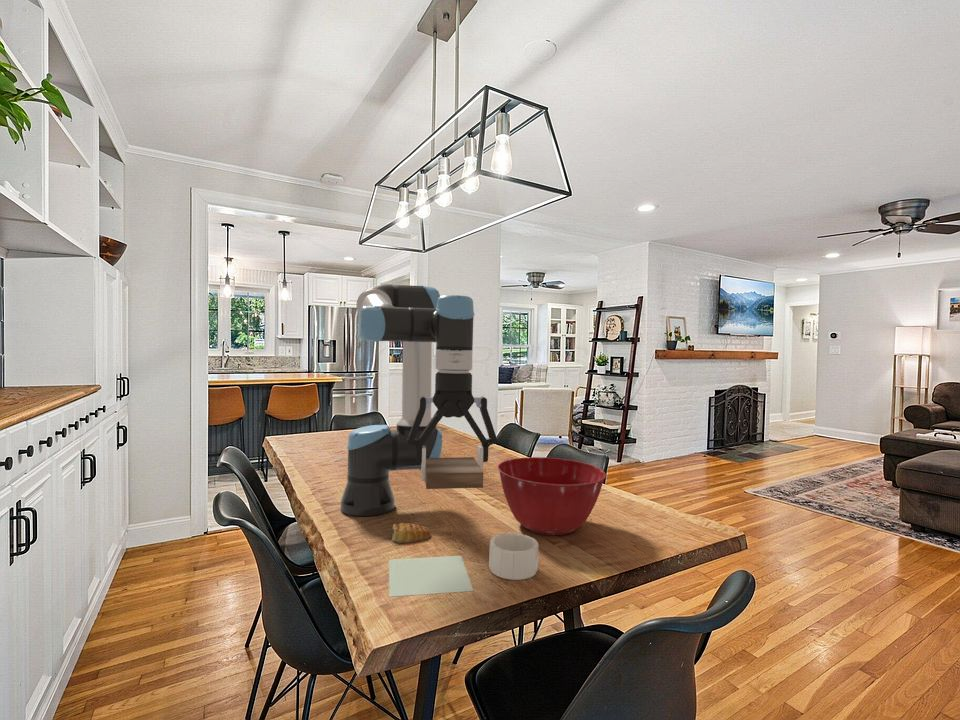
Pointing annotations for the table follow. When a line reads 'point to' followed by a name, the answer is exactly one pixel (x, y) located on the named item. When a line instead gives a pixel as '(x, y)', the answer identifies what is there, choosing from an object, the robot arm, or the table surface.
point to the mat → (428, 576)
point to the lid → (453, 473)
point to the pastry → (409, 532)
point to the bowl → (513, 556)
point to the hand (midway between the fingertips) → (451, 478)
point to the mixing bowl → (550, 492)
